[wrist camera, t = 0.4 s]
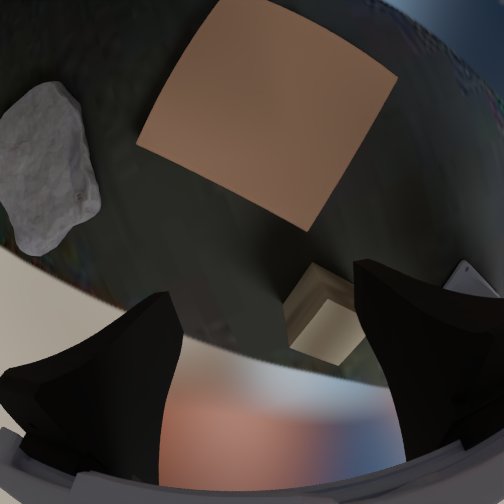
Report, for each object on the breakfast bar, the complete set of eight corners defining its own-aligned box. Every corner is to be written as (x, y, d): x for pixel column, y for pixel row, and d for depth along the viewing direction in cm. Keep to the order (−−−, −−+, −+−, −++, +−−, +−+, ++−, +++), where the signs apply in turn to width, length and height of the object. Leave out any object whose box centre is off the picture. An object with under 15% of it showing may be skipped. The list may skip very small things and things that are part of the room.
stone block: (78, 74, 16) (-2, 143, 16) (53, 59, 12) (-33, 145, 11) (134, 194, 21) (49, 252, 20) (118, 204, 16) (23, 273, 16)
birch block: (354, 284, 21) (376, 322, 16) (324, 322, 22) (338, 365, 17) (312, 261, 20) (327, 298, 15) (282, 303, 21) (289, 347, 17)
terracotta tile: (385, 82, 15) (398, 77, 13) (302, 222, 19) (307, 232, 18) (232, -1, 13) (230, -13, 11) (147, 142, 17) (135, 144, 15)
